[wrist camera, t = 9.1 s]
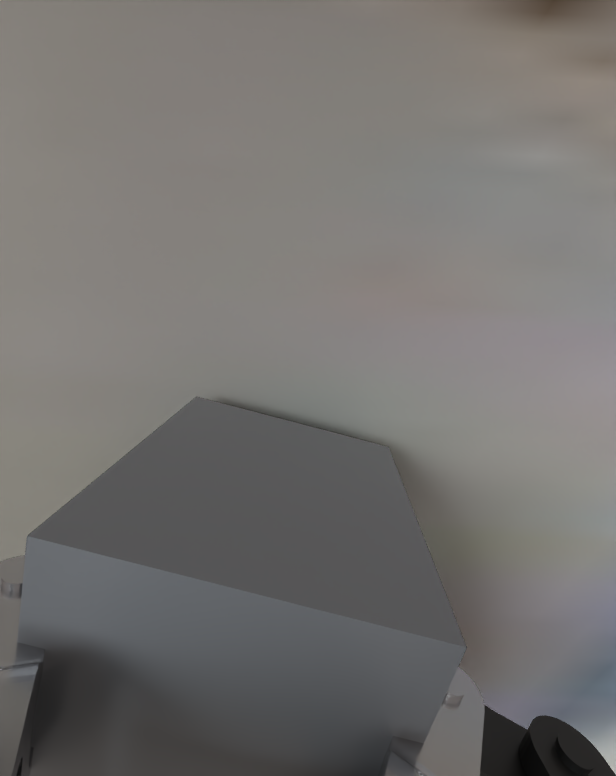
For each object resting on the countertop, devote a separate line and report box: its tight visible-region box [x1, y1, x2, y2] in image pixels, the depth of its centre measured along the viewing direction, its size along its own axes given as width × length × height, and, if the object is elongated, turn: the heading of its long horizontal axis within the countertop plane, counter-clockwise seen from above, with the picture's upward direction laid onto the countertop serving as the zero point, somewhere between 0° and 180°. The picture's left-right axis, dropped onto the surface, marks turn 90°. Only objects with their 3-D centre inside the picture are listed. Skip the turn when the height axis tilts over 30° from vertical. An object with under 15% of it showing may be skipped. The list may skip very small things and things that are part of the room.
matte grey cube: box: [17, 397, 467, 776], centre depth 9 cm, size 6×6×7 cm
